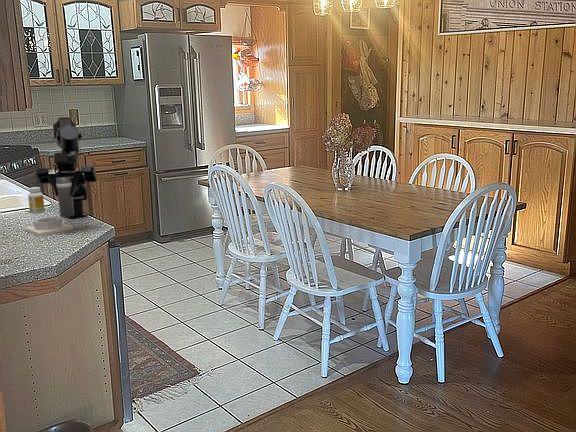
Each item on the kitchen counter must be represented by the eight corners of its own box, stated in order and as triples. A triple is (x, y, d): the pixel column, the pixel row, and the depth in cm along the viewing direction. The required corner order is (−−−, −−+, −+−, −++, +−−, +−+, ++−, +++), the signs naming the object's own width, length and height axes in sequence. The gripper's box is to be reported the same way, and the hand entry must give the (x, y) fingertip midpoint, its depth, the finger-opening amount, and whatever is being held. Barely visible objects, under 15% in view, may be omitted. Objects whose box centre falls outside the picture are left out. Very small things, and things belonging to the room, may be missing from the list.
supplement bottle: (46, 210, 235) (44, 186, 233) (41, 213, 230) (38, 188, 228) (33, 210, 235) (30, 186, 233) (27, 213, 230) (24, 189, 228)
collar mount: (24, 230, 203) (23, 220, 202) (58, 224, 211) (57, 214, 211) (39, 236, 195) (37, 225, 194) (73, 229, 203) (72, 219, 202)
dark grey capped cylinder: (57, 215, 198) (53, 177, 195) (70, 213, 201) (66, 175, 198) (63, 217, 194) (59, 178, 191) (77, 215, 198) (73, 176, 195)
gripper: (34, 144, 195) (26, 182, 187) (91, 142, 197) (87, 180, 189) (44, 164, 205) (37, 201, 196) (98, 162, 206) (94, 199, 198)
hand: (63, 195), depth 195 cm, fingers closed on dark grey capped cylinder, 4 cm apart
